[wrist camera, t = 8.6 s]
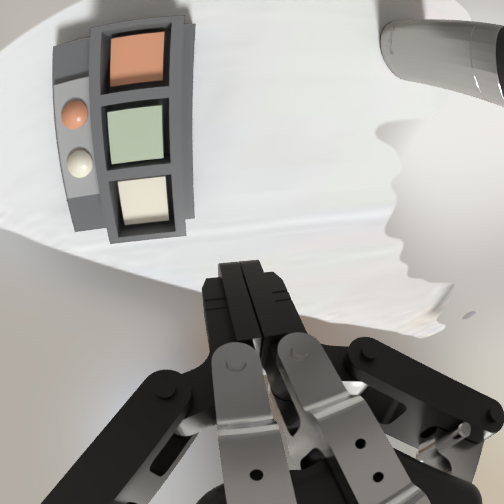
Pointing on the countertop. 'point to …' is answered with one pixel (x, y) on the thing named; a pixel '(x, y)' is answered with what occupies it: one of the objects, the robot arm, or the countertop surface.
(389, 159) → the countertop surface
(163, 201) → the key cream
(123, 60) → the key terracotta
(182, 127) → the keypad
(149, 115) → the key sage
